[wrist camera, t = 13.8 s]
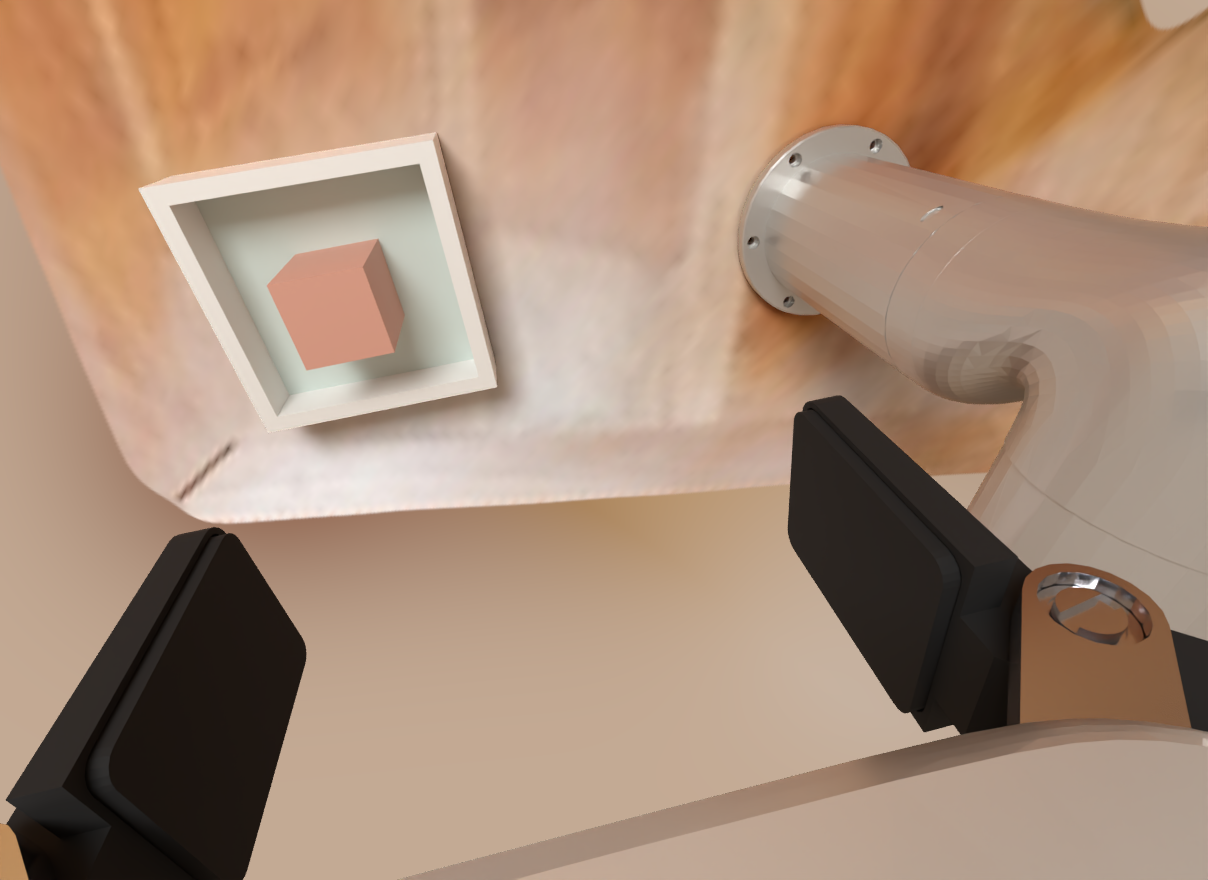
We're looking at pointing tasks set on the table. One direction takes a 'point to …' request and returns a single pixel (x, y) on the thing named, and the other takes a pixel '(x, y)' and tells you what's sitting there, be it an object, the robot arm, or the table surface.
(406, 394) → the tray
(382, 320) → the pink block
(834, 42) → the table surface
